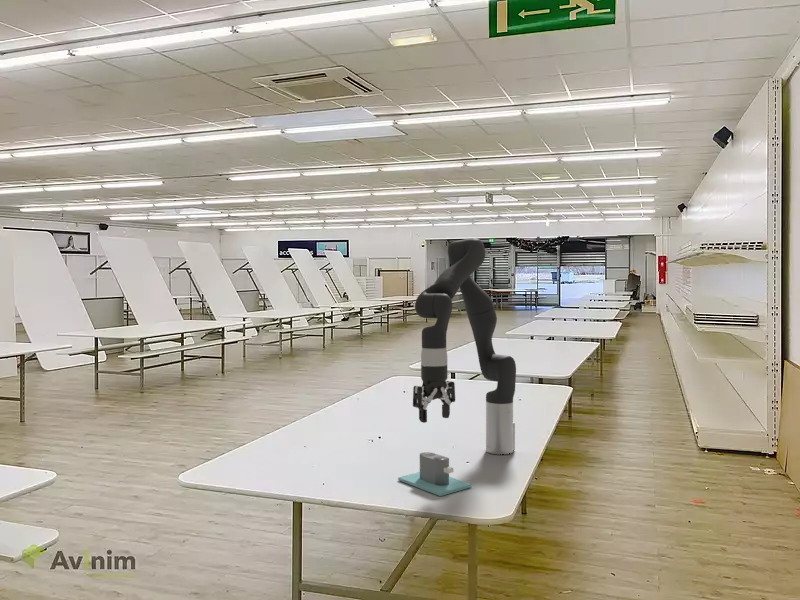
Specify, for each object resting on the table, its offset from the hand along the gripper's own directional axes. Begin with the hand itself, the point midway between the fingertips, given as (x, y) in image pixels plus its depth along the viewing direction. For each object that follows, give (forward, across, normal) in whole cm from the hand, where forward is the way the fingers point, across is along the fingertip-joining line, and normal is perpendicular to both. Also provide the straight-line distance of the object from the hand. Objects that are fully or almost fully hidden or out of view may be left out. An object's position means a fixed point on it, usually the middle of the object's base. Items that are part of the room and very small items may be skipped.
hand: (434, 419), depth 177 cm
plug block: (+18, 0, 0) cm, 18 cm away
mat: (+18, 0, 0) cm, 18 cm away
